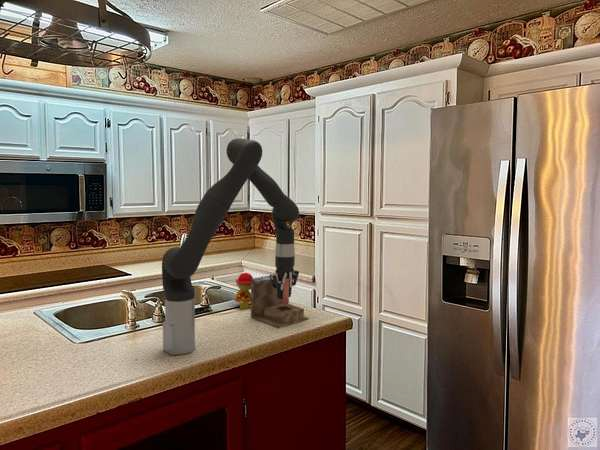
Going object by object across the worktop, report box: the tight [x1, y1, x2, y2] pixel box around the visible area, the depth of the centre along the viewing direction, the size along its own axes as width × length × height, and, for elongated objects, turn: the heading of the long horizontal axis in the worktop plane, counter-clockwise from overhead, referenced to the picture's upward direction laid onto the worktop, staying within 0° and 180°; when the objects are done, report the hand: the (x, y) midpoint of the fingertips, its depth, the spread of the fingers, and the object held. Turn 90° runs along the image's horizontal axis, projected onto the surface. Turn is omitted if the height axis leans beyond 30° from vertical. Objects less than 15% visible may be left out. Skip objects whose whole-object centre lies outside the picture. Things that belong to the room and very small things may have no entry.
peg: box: [280, 278, 290, 304], centre depth 174 cm, size 4×4×10 cm
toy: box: [234, 272, 254, 310], centre depth 191 cm, size 11×9×15 cm
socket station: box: [250, 275, 309, 329], centre depth 176 cm, size 16×16×16 cm
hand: (284, 297), depth 174 cm, fingers closed on peg, 3 cm apart
